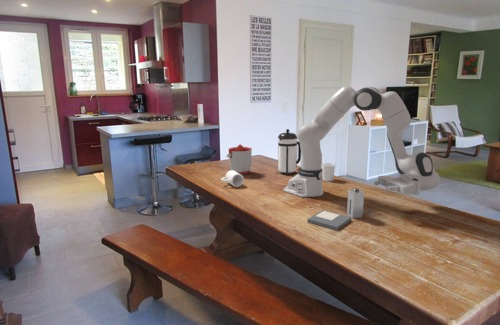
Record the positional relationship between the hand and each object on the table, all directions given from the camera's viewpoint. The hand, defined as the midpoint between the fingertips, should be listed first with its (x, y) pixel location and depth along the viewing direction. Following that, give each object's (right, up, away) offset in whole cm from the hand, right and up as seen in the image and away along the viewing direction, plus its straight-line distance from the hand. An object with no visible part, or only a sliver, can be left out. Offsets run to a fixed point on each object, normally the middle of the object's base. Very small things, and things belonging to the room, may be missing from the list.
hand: (380, 185), depth 158 cm
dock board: (-25, -15, -6) cm, 30 cm away
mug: (-71, -3, +50) cm, 87 cm away
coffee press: (-34, +4, +78) cm, 85 cm away
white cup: (-11, 0, +59) cm, 60 cm away
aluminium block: (-12, -14, 0) cm, 18 cm away
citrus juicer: (-67, +3, +77) cm, 102 cm away
